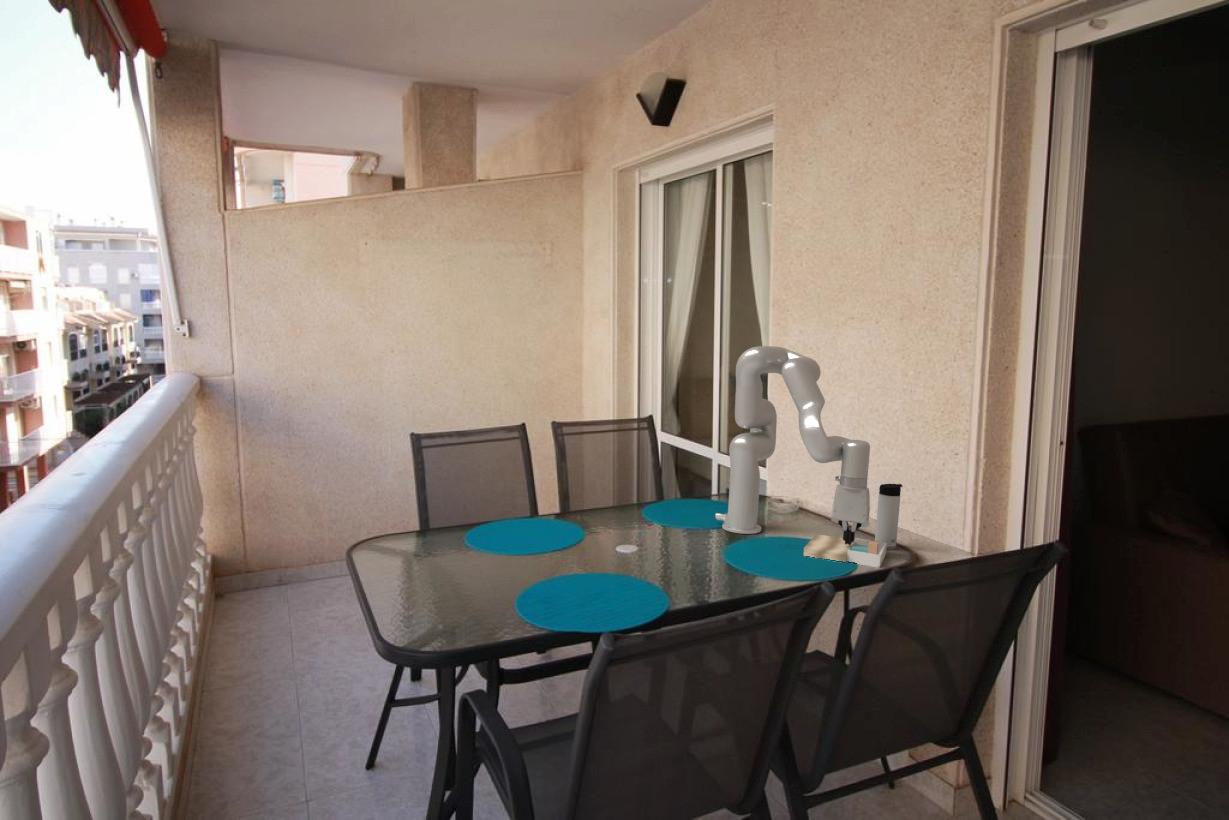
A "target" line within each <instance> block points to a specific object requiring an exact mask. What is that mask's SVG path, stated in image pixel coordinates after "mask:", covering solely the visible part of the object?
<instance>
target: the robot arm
mask: <svg viewBox="0 0 1229 820" xmlns="http://www.w3.org/2000/svg"><path fill="white" fill-rule="evenodd" d="M762 374H778V375H781V376H782V378H783V381H784V383H785V386H786V388H787V389H788V392H789V394H790V396H791V398H792V401H793V403H794V405H795V407H796V409H797V412H798V427H799V428H798V429H799V433H800V434H799V435H800V437H801V440H802V442H803V444H804V447H805V448H806V450H807V452H808V454H809V455H810V457H811V458H812V459H813V460H814V461H815V462H817V463H819V464H828V463H832V462H840V461H841V468H840V475H839V476H838V475H837V476H835V478H834V480H835V482H838V483H839V484H837V485H836V488H835V492H834V495H833V501H832V512H831V518H830V519H831V520H830V521H831V522H833V523H835V524H838V525H839V526H840V528H842V530H843V537H842V538H843V540H844V541H845V544H849V545H851V543H852V542H854V540H855V538H856V536H855V535H856V531H857V530H859V529H860V528H865V527H867V528H868V527H869V526H870V514H871V513H870V509H871V508H870V507H871V498H870V497H871V496H870V495H871V493H870V489H869V487H868V478H869V468H870V467H869V465H870V455H871V454H870V452H871V445H870V443H869V442H867V441H866V440H860V439H850V438H846V437H842V436H839V435H830V436H829V435H827V434H826V431H825V429H824V427H823V424H822V420H821V415H822V410H823V408H824V405H825V403H826V399H825V397H824V395H823V393H822V391H821V389H820V387H819V385H818V381H819V379H820V377H821V375H822V372H821V368H820V365H819V364H818V362H817V361H816V360H814V359H813V358H811V357H809V356H806V355H803V354H800V353H798V352H795V351H793V350H790V349H787V348H785V347H781V346H772V345H771V346H768V345H760V346H758V345H757V346H753V347H750V348H748V349H747V350H745V351H744V352H742V353H741V354H740V356H739V357H738V359H737V362H736V365H735V395H734V397H735V398H734V399H735V400H734V402H735V403H734V419H735V423H736V425H737V426H738V427H739V428H742V429H747V430H748V429H749V432H744V433H740V434H737V435H736V436H734V437H733V438H732V440H731V441H730V443H729V446H728V447H729V449H728V452H729V461H730V463H729V464H730V468H729V469H730V473H729V474H730V475H729V491H728V505H727V508H728V509H727V512H726V513H724V514H723V513H718V512H716V513H715V516H714V517H715V519H716V521H723V522H722V526H721V527H722V529H723V530H725V531H727V532H731V533H734V534H743V535H751V534H752V535H753V534H754V535H755V534H759V533H760V532H762V526H761V525H759V524H758V512H759V501H760V500H759V499H760V498H759V497H760V486H761V483H760V482H761V471H760V467H759V461H760V462H761V461H764V460H767V459H769V458H770V457H772V456H773V454H774V453H775V450H776V443H777V423H778V421H777V419H778V418H777V417H778V416H777V415H778V414H777V410H776V408H775V405H774V404H773V403H772V402H771V401H770V400H768V399H766V398H763V392H764V391H763V390H764V389H763V386H764V385H763V382H762V378H761V375H762ZM849 523H851V527H849Z"/></svg>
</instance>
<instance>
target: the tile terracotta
mask: <svg viewBox="0 0 1229 820" xmlns="http://www.w3.org/2000/svg"><path fill="white" fill-rule="evenodd" d="M869 540H870V541H869V543H868V551H867V553H870V554H877V555H878V548H879V541H875V539H874V540H873V539H869Z"/></svg>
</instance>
